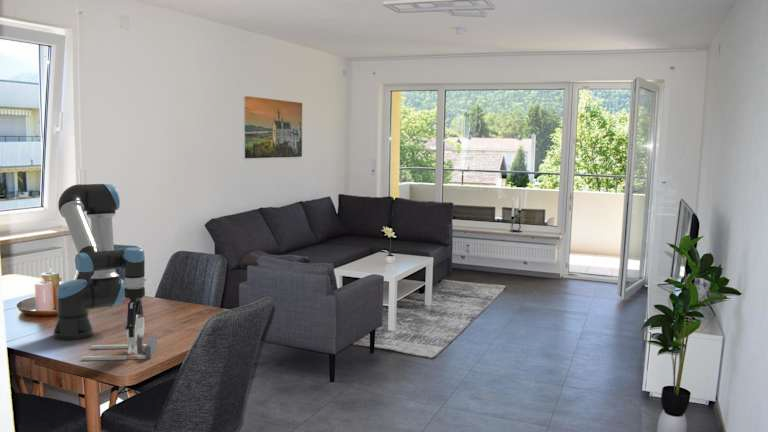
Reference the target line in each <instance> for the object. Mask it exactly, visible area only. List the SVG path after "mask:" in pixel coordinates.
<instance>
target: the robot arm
mask: <svg viewBox="0 0 768 432" xmlns="http://www.w3.org/2000/svg"><path fill="white" fill-rule="evenodd" d="M58 199H59V200H58V203H57V204H58V205H57V206H58V207H57V208H58V211H59V214H60V215H61V217H63V218H64V220H65V222H66V225H67V228H68V230H69V233H70V235H71V237H72V238H71V239H72V240H73V243H74V246H75V249H76V251H77V253H76V255H75V258H74V264H75V269H76V271H77V272H79V273H92V272H93V274H92V276H91V277H90V282H88V281H87V280H86V279H84V278H82V279H81V278H80V279H71V280H68V281H64V282H62V283H60V284H59V285H58V286H57V289H56V290H57V291H56V299H57V301H56V302H57V303H56V304H57V305H56V306H57V320H56V324H55V326H54V330H53V338H54V339H55V340H59V341H77V340H81V339H82V340H83V339H86V338H88V337H91V336H92V335H93V334H94V331H93V329H94V328H93V326H92V323H91V321H90V318H89V310H93V309H94V310H95V309H101V308H109V307H110V308H111V307H115V306H118V305H121V304H122V303H123V301H124V298H126V299H129V302H128V304H127V315H126V317H127V327H126V326H125V330H126V329H128V339H127V344H128V345H136V328H135V322H136V314H141V315H143V316H144V317H145V315H144V311H143V310H144V309H143V303H142V298H144V297H145V295H146V288H145V286H146V285H145V281H147V278H145V272H146V271H145V265H146V263H145V260H146V256H145V250H144V248H142V247H138V246H137V247H135V246H133V247H127V248H125V247H119V248H116V249H115V244H114V242H115V241H114V229H113V227H114V226H113V218H114V216H115V215H116V211H118V210H119V208H120V207H121V205H120V204H121V202H120V201H121V200H120V196H119V191H118V190H117V188H116V187H115V186H114V185H113V184H111V183H93V184H91V183H89V184H87V183H86V184H80V183H79V184H73V185H71V186H70V187H68V188H66V189H65V190H64V191H63V192H62V194H60V197H59V198H58ZM85 212H86V214H85ZM87 217H88V218H89V219H90V224H89V221H88V219H87ZM118 269H123V275H124V277H123V278H120V274H118V272H117V271H116V270H118ZM130 325H132V326H130Z"/></svg>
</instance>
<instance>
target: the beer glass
mask: <svg viewBox="0 0 768 432" xmlns="http://www.w3.org/2000/svg"><path fill="white" fill-rule="evenodd" d="M143 315H144V314H143ZM143 315H141V314H136V322H135V328H136V345H128V348H127V351H126V352H127V354H126V355H143V354H144V352H145V351H144V348H143V345H142V344H143V341H144V335H145V315H144V316H143ZM125 318H126V319H125V334H126V338H127V340H128V329H126V327H127V316H126V317H125ZM130 326H132V325H130Z"/></svg>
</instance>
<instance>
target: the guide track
mask: <svg viewBox="0 0 768 432" xmlns="http://www.w3.org/2000/svg"><path fill="white" fill-rule="evenodd" d="M157 336H158V335H157V334H151V335H150V337H149V339H148V340H147V343H142V345H143V349H144V350H145V351H144V352H145V353H144V354H140V355H128V354H126V355H125V354H123V355H92V356H90V355H89V356H87V355H86V356H82V358H81V359H82V362H83V361H107V360H108V361H110V360H112V361H113V360H114V361H115V360H149V359H152V357H153V355H154V353H155V350H156V349H157V347H158V341H157V339H158V338H157ZM90 347H91V350H110V349H113V350H116V349H128V343H127V344H94V345H93V344H92V345H91V346H90Z"/></svg>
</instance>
